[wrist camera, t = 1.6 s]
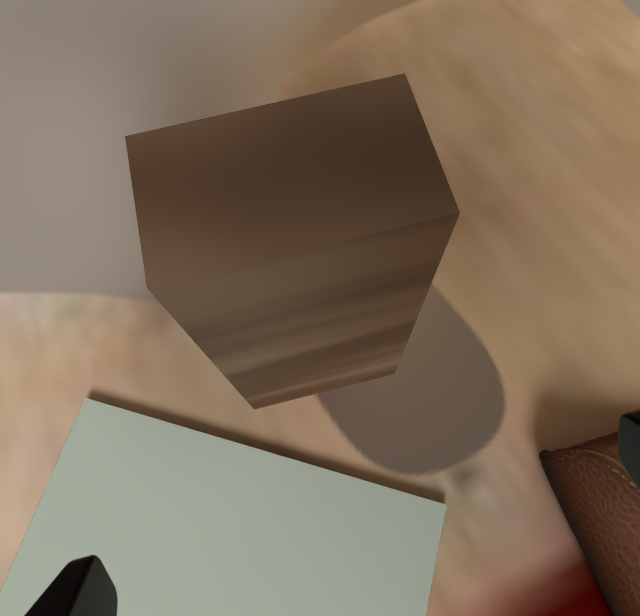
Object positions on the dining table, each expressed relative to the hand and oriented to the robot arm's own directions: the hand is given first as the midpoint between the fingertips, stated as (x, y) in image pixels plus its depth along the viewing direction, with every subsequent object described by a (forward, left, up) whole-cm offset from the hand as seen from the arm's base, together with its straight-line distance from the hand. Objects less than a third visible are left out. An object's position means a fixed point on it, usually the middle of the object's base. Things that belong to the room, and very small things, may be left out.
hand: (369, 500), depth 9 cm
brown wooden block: (+5, +3, -12) cm, 14 cm away
